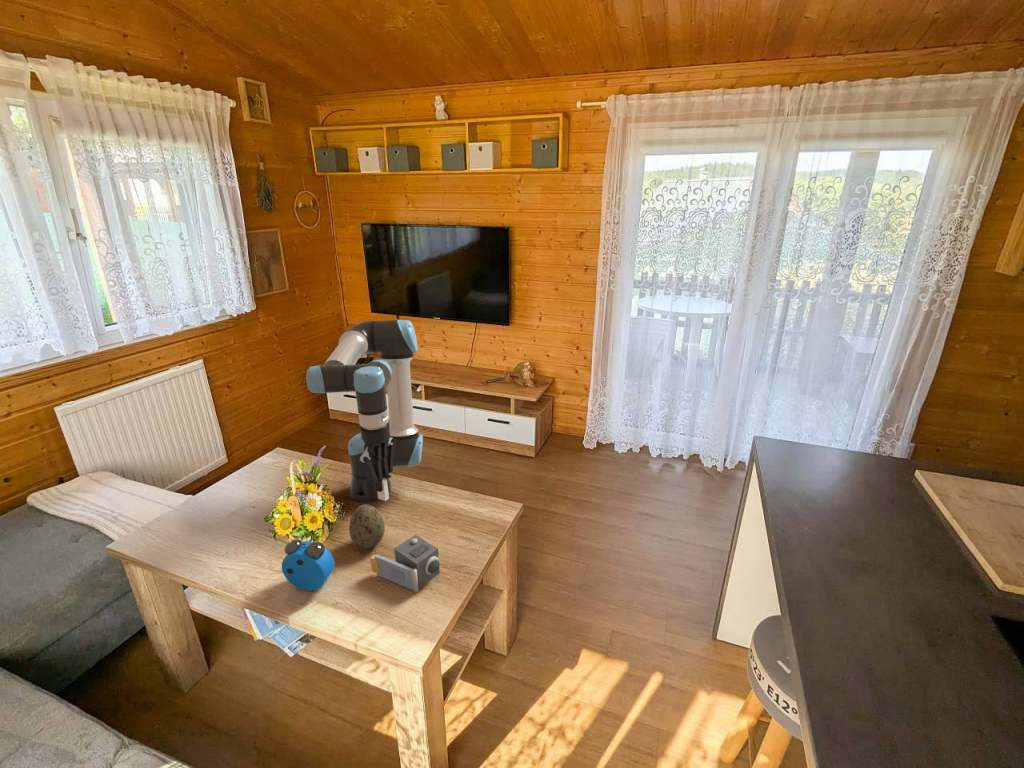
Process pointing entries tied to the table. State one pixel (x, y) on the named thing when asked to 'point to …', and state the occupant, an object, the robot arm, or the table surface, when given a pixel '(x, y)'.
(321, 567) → the alarm clock
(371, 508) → the decorative egg
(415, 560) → the camera body
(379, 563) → the side door
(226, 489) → the table surface
